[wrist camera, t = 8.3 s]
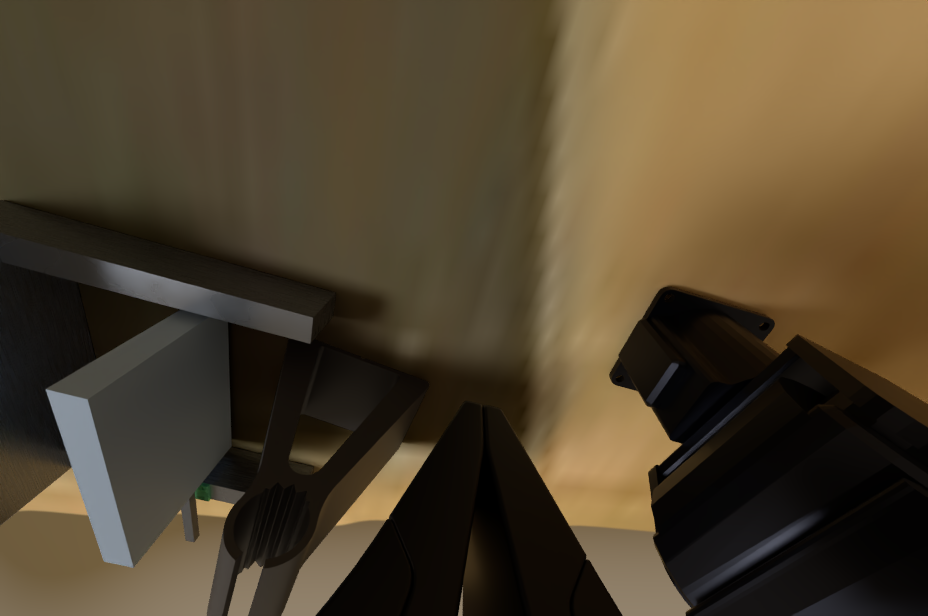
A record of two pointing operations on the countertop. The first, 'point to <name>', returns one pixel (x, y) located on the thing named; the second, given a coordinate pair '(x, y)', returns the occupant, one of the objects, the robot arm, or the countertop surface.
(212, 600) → the phone stand
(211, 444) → the paddle
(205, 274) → the gauge frame
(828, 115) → the countertop surface
